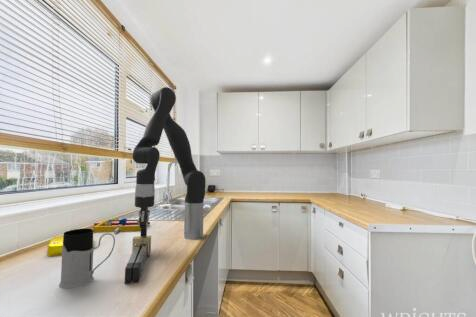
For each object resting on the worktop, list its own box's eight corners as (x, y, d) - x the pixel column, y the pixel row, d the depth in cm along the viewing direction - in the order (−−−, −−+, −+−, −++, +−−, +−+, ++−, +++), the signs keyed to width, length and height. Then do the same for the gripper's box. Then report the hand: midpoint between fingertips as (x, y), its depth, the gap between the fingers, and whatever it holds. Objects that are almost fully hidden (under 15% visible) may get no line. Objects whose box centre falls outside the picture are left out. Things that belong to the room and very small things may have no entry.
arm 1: (134, 258, 90) (134, 246, 90) (139, 258, 90) (140, 246, 90) (124, 284, 70) (125, 268, 70) (131, 283, 71) (131, 267, 71)
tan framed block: (133, 255, 93) (133, 236, 93) (150, 253, 94) (151, 235, 95) (132, 257, 90) (132, 238, 90) (150, 256, 92) (150, 237, 92)
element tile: (92, 241, 111) (93, 231, 111) (92, 251, 98) (92, 239, 98) (52, 246, 103) (52, 235, 103) (46, 258, 90) (46, 245, 91)
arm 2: (142, 258, 90) (142, 246, 90) (147, 257, 91) (147, 245, 91) (132, 283, 71) (132, 267, 71) (138, 282, 71) (139, 267, 71)
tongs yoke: (135, 255, 93) (136, 243, 93) (148, 254, 94) (148, 242, 94) (134, 258, 90) (134, 246, 90) (147, 257, 91) (147, 245, 92)
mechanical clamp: (96, 216, 137) (150, 215, 142) (96, 226, 137) (150, 225, 142) (80, 223, 119) (143, 222, 124) (79, 236, 119) (142, 234, 123)
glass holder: (63, 278, 74) (65, 229, 74) (114, 270, 79) (116, 225, 80) (54, 292, 66) (57, 237, 66) (112, 282, 71) (114, 232, 72)
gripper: (137, 193, 104) (136, 233, 103) (132, 197, 91) (130, 242, 91) (155, 193, 106) (154, 232, 105) (153, 196, 93) (151, 241, 93)
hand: (143, 237), depth 98 cm, fingers closed
